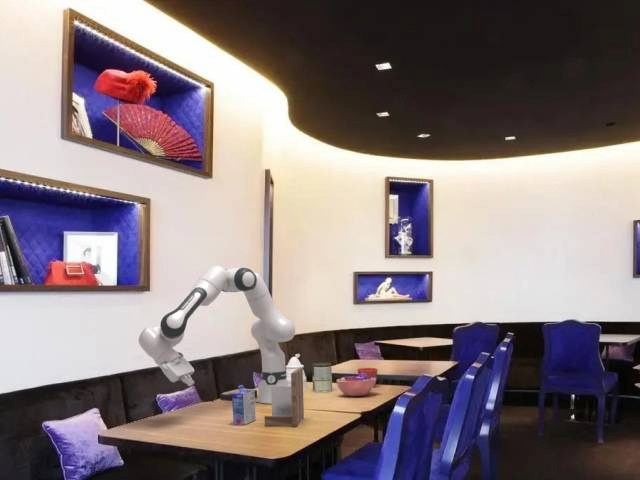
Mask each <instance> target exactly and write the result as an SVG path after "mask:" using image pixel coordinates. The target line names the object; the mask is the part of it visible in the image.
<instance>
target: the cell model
mask: <svg viewBox="0 0 640 480" xmlns="http://www.w3.org/2000/svg"><path fill="white" fill-rule="evenodd" d="M375 382H376V383H377V378H373V377H367V375H366V374H365V373H364V372H360V373H359V375H357V376H354V375H353V376H349V375H344V377H340V378H338V379H336V385H337V388H338V389H339V391H341V392H342V394H344V395H345V396H351V397H363V396H366V395H367V394H369V393H370V392H371V391H372V389H374V388H373V386H374V384H375Z"/></svg>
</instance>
